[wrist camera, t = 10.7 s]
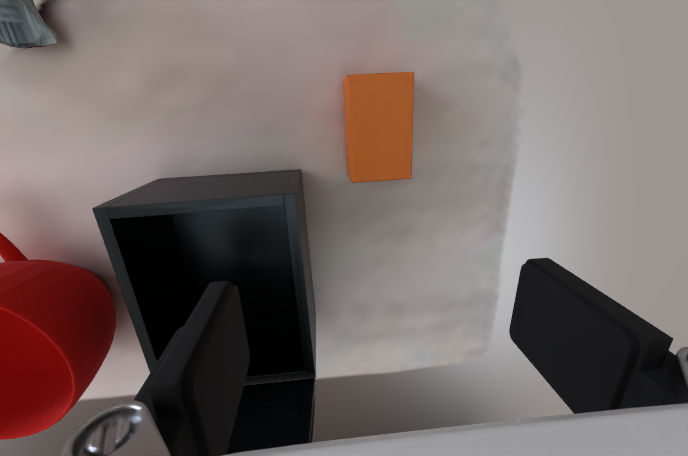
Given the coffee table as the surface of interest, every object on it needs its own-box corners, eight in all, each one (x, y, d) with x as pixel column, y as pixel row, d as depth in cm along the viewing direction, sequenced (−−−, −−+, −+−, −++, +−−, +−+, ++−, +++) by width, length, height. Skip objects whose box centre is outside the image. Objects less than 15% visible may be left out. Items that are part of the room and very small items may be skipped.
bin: (157, 178, 28) (91, 208, 20) (301, 169, 29) (295, 193, 20) (196, 324, 33) (157, 394, 25) (315, 313, 34) (315, 377, 26)
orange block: (342, 79, 26) (346, 75, 23) (401, 76, 27) (414, 71, 23) (347, 174, 29) (351, 182, 26) (400, 170, 29) (411, 178, 26)
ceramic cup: (103, 183, 28) (-6, 221, 18) (162, 338, 34) (103, 426, 24) (-53, 200, 27) (-247, 248, 18) (36, 355, 33) (-74, 452, 24)
